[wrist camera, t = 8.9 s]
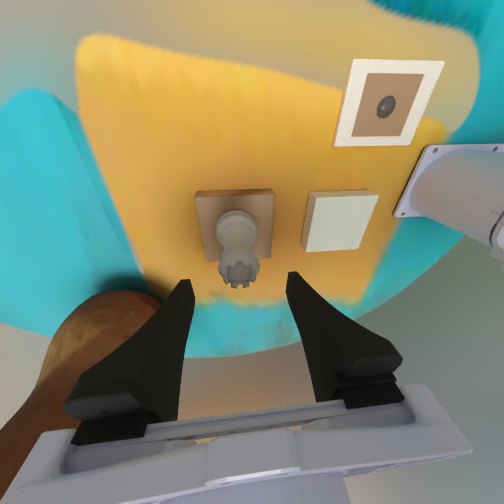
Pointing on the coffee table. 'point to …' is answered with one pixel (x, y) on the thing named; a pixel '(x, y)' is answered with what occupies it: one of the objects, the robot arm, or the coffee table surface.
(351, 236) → the grey-green block
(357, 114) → the card
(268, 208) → the walnut block
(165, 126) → the coffee table surface
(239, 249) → the rook chess piece
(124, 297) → the butternut squash
